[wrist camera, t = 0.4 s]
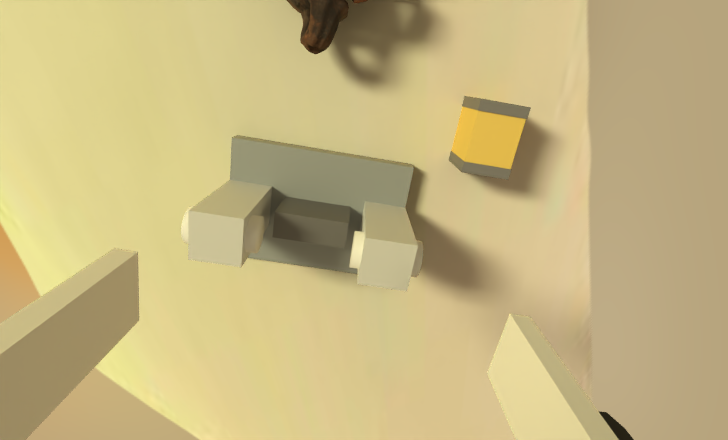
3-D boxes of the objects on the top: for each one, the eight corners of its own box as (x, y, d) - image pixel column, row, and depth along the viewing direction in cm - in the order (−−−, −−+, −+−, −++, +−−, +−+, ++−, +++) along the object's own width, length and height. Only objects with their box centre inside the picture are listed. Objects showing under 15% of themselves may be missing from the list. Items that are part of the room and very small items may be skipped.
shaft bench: (229, 133, 35) (177, 154, 25) (419, 165, 36) (440, 197, 27) (224, 247, 39) (178, 302, 30) (395, 272, 41) (406, 334, 31)
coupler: (448, 160, 36) (461, 172, 32) (464, 96, 34) (481, 98, 29) (489, 166, 37) (508, 179, 32) (507, 103, 34) (530, 107, 30)
